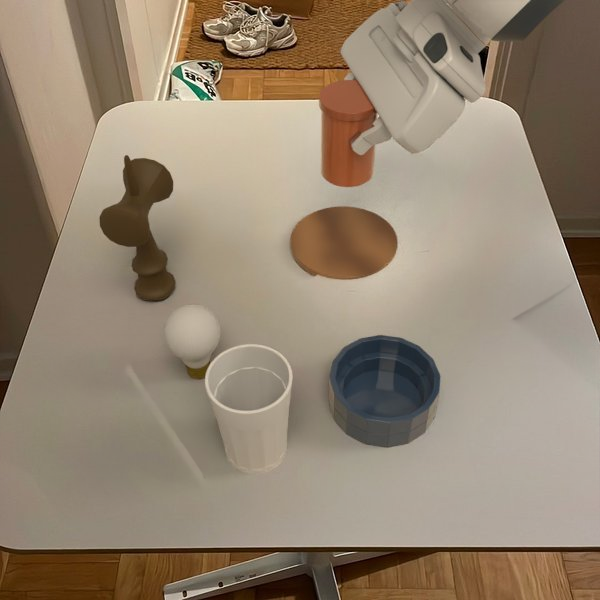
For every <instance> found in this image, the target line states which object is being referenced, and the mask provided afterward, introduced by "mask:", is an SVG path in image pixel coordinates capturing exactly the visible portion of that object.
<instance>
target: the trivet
mask: <svg viewBox="0 0 600 600" xmlns="http://www.w3.org/2000/svg"><path fill="white" fill-rule="evenodd" d="M398 242H399V241H398V236H397V233H396V231H395V228H393V226H392V225H391V224H390V222H388V221H387V220H386V219H385V218H383V216H381V215H379V214H377V213H375V212H373V211H371V210H368V209H366V208H362V207H357V206H354V207H353V206H348V205H347V206H346V205H343V206H341V205H339V206H338V205H337V206H329V207H325V208H322V209H318V210H316V211H313V212H311V213H309V214H307V215H306V216H304V217H303V218H302V219H300V221H298V222H297V224H296V225H295V226H294V228H293V230H292V232H291V234H290V251H291V255H292V258H293V259H294V261H295V262H296V264H297V265H298V266H299V267H300V268H301V269H302V270H303V271H305V272H306V273H308V274H309V275H311V276H313V277H316V276H320V277H324V278H326V279H332V280H341V281H347V280H349V281H350V280H359V279H363V278H367V277H370V276H372V275H375V274H377V273H379V272H381V271H383V270H384V269H385V268H387V267H388V266H389V265H390V263H392V261H393V260H394V258H395V257H396V254H397V251H398Z"/></svg>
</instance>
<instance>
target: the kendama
mask: <svg viewBox="0 0 600 600" xmlns="http://www.w3.org/2000/svg"><path fill="white" fill-rule="evenodd" d="M123 163H124V167H123V169H122V181H123V185H124V189H125V192H124V194H123V196H122V198H121V199H120V201H118V202H117V203H115V204H112V205H110V206H107V207H105V208H103V209H102V210H101V212H100V214H99V218H98V219H99V227H100V229H101V231H102V233H103V235H104V236H105V237H106V238H107V239H108V240H109V241H110V242H112V243H115V244H116V245H118V246H122V247H127V248H135V254H134V256H133V258H132V261H131V265H130V266H131V270H132V272H134V273H135V274H136V275H137V278H136V280H135V281H134V287H133V289H134V290H133V291H134V294H135V296H137V297H138V298H140V299H141V300H144V301H150V302H151V301H160V300H164V299H166V298H167V297H169V296H170V295H171V294H172V293H173V291H174V290H175V287H176V279H175V276H174V274H172V272H170V271H168V269H167V265H168V262H169V258H168V254H167V253H166V252H165V251H164V250H163V249H160V248H159V246H158V244H157V242H156V240H155V237H154V235H153V233H152V230H151V227H150V221H149V220H150V219H149V214H150V211H151V208H152V206H153V205H154V204H155V203H159V202H162V201H165V200H167V199H169V198H170V197H171V195H172V193H173V192H174V179H173V177H172V173H171V172H170V171H169V170H168V168H167V167H166V165H164V164H163V163H161V162H158V161H157V160H155V159H151V158H147V157H138V158H133V159H131V158H130V156H129V155H128V154H125V155H124V156H123Z"/></svg>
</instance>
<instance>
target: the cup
mask: <svg viewBox="0 0 600 600" xmlns="http://www.w3.org/2000/svg"><path fill="white" fill-rule="evenodd" d="M293 377H294V376H293V370H292V367H291V364H290V362H289V361H288V360H287V358H286V357H285V356H284V355H283V354H282V353H281V352H279V351H278V350H276V349H274V348H272V347H270V346H267V345H263V344H257V343H246V344H240V345H235V346H233V347H230V348H228V349H226V350H224V351H222V352H221V353H219V354H218V355H217V356H216V357H215V358H214V359H213V360H212V361H210V365H209V367H208V369H207V372H206V375H205V377H204V387H205V391H206V394H207V397H208V399H209V404H210V406H211V408H212V412H213V414H214V416H215V419H216V422H217V425H218V429H219V432H220V435H221V439H222V442H223V447H224V451H225V456H226V459H227V460H228V462H229V464H230V465H231V466H233V468H235V469H236V470H238V471H240V472H242V473H245V474H249V475H260V474H264V473H268V472H270V471H272V470H274V469H275V468H277V467H278V466H279V465H280V464H281V463H282V462H283V460H284V459H285V457H286V455H287V451H288V430H289V416H290V415H289V414H290V404H291V399H292V398H291V397H292V388H293Z"/></svg>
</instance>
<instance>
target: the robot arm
mask: <svg viewBox="0 0 600 600" xmlns="http://www.w3.org/2000/svg"><path fill="white" fill-rule="evenodd" d="M565 1H566V0H410V1H409V2H407V1H405V0H401V1H396V2H391V3H389V4H388V6H386V7H384V8H380V9H379V10H377V11H375V12H374V13H373V14H372V15H370V16H369V17H368V18H367V19H366V20H365V21H364V22H363V23H362V24H361V25H359V26H358V27H357V28H356V29H355V30H354V31H353V32H352V33H351V34H350V35H349V36H347V38H346V39H345V41H343V44H342V47H341V48H340V51H339V52H340V56H341V57H342V59H343V60H344V62H345V63H346V65H347V66H348V68H349V70H350V72H349V73H348V74H347V75H345V77H344V79H343V80H357V81H358V83H359V84H360V86H361V87H362V89H363V91H364V92H365V94H366V95H367V97H368V99H369V100H370V102H371V103H372V105H373V107H374V108H375V110H376V111H377V113H378V115H377V119H376V120H375V121H374V122H373V125H374V127H373V128H371V129H369V130H367V131H365V132H363V133H362V132H360V131H359V130H358V131H357V132H356V133H355V134H354V136H353V137H351V138H350V139H349V144H350V146H351V147H352V149H353V151H355V152H356V153H357V154H359V155H363V154H365V153H366V152H367V151H368V150H369V149H370V148H371V147H372V146H374V145H375V146H377V145H379V144H383V143H385V142H388V141H389V140H391V139H393V141H395V142H396V143H397V144H398V145H400V146H401V147H402V148H403V149H404V150H406V151H407V152H409V153H410V154H411V155H413V154H418V153H422V152H425V151H426V150H427V149H429V148H430V147H431V146H433V144H435V143H436V142H437V140H439V139H440V138H441V137H442V136H443V135H445V133H446V132H447V131H448V130H449V129H450V128H451V127H452V126H453V125H454V124H455V123H456V122H457V121H458V119H459V118H460V117H461V116H462V114H463V112H464V110H465V107H466V101H467V102H469V103H475V102H477V101H478V100H479V99H480V98H481V97H483V95H485V93H486V90H487V86H486V81H485V77H484V73H483V69H482V64H481V57H480V54H479V53H480V52H481V51H483V50H484V48H486V46H488V44H489V43H490V41H494V42H500V43H501V42H502V43H503V42H505V43H509V42H511V43H513V42H515V43H516V42H524V41H525V40H526V39H527V38H528V37H529V35H531V33H532V32H533V31H534V30H535V29H536V28H537V27H538V26H539V25H540V24H541V23H542V22H543V21H544V20H545V19H546V18H547V17H548V16H549V15H550V14H551V13H552V12H553V11H554V10H555V9H557V8H558V7H559V6H560V5H561V4H563V3H564V2H565Z"/></svg>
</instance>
